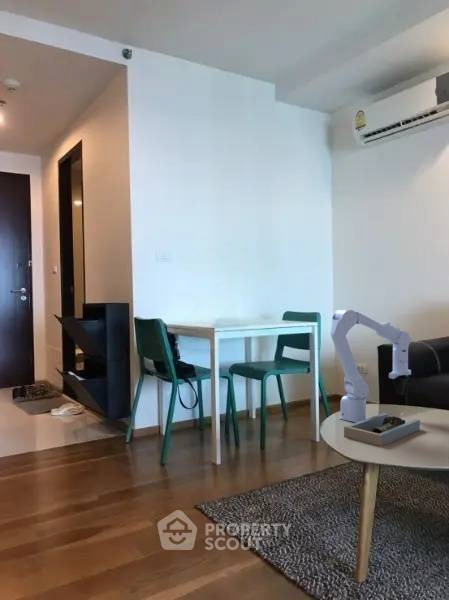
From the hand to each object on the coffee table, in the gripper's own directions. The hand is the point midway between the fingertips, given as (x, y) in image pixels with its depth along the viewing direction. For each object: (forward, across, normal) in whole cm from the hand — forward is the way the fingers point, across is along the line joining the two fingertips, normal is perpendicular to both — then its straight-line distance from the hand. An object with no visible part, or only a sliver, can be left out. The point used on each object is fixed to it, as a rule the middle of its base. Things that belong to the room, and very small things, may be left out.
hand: (400, 394), depth 190 cm
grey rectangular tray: (+9, -24, -6) cm, 26 cm away
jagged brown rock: (+10, -24, -8) cm, 28 cm away
